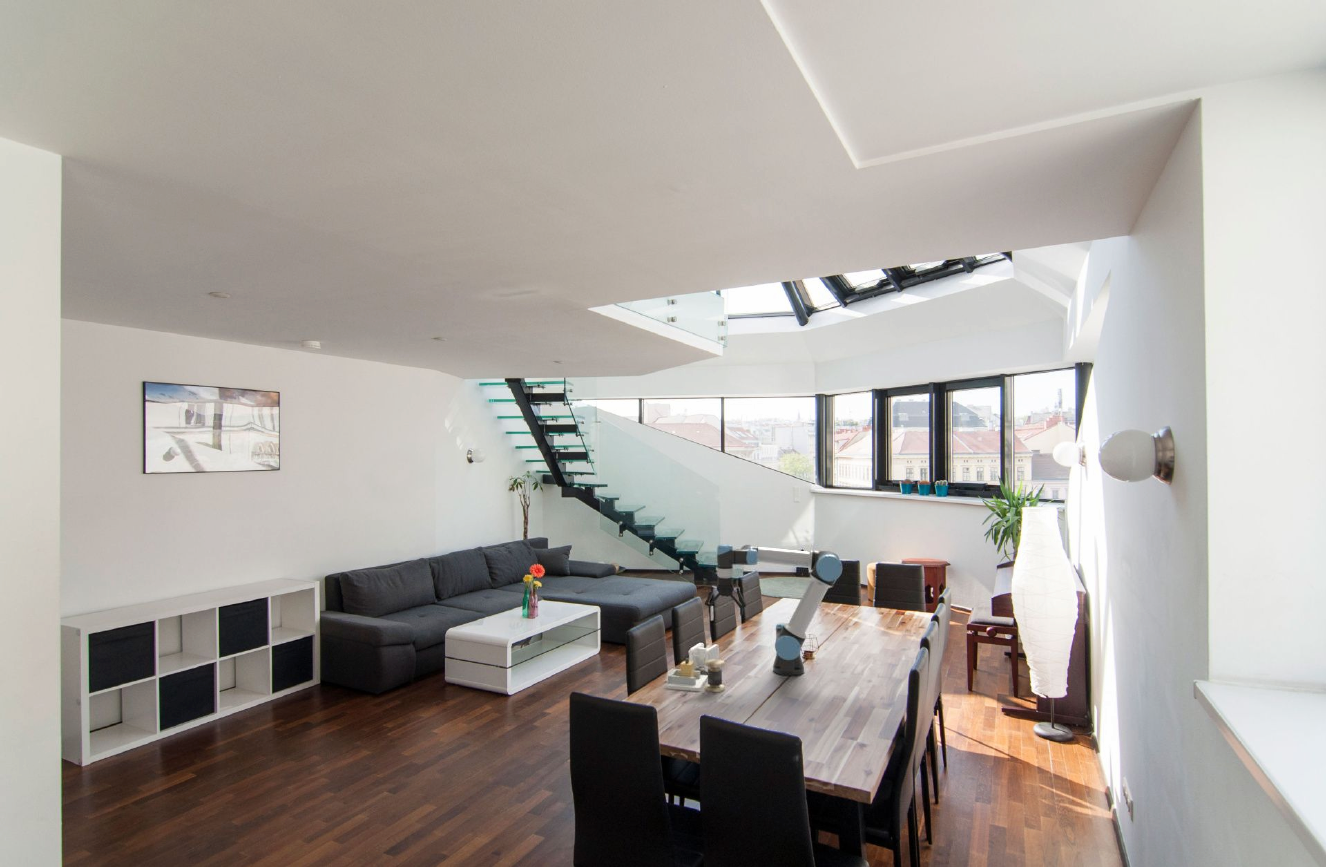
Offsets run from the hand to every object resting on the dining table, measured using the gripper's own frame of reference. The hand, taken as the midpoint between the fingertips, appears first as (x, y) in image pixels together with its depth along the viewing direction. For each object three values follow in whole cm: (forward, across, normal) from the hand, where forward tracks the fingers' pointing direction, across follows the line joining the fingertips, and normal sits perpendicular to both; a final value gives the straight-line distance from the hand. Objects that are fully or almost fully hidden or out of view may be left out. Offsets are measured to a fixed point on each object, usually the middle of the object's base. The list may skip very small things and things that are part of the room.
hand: (725, 620), depth 324 cm
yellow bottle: (+25, +16, +14) cm, 33 cm away
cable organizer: (+27, +13, -8) cm, 31 cm away
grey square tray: (+27, +16, +14) cm, 34 cm away
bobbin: (+27, +2, +18) cm, 32 cm away
